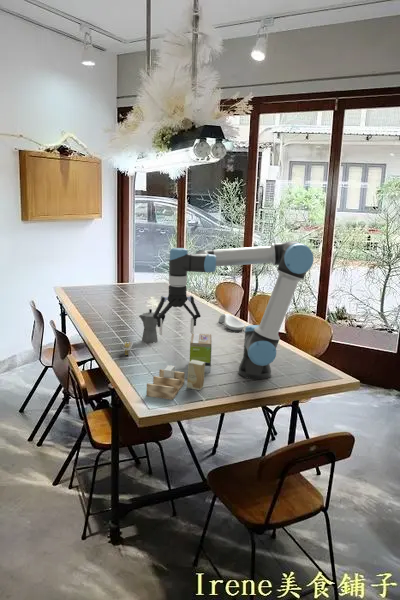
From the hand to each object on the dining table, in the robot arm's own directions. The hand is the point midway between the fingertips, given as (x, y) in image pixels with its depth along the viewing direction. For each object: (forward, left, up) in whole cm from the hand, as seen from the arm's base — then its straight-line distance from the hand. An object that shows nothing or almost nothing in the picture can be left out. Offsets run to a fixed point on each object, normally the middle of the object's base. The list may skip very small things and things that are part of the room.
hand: (176, 333), depth 202 cm
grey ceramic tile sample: (0, +8, -21) cm, 22 cm away
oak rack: (0, +12, -22) cm, 25 cm away
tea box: (-7, -20, -22) cm, 31 cm away
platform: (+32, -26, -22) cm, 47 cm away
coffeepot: (+28, -51, -22) cm, 63 cm away
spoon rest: (-9, -96, -22) cm, 99 cm away
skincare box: (-11, +6, -22) cm, 25 cm away
